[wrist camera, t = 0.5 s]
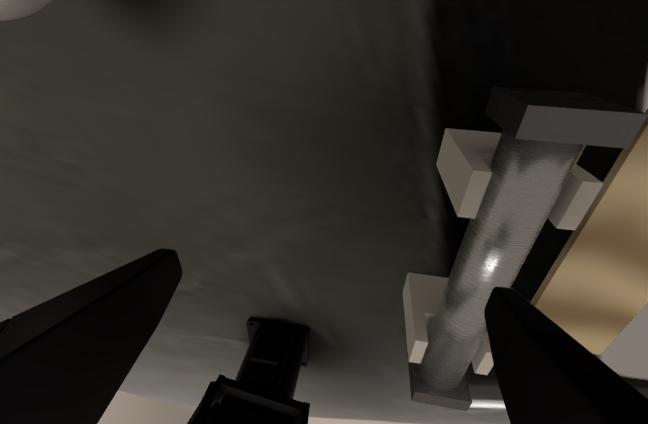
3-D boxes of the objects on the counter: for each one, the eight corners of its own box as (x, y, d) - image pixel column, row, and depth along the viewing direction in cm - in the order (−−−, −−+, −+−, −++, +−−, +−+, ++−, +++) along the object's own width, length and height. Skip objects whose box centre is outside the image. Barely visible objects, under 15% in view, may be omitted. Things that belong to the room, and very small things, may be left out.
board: (595, 348, 26) (599, 354, 25) (510, 335, 27) (513, 341, 26) (822, 92, 15) (837, 94, 14) (663, 81, 15) (673, 83, 15)
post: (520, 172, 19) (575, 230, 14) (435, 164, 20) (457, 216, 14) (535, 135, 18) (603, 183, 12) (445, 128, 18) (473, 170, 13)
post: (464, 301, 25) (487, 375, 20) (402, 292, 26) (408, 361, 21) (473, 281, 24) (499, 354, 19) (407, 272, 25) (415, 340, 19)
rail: (455, 360, 24) (466, 411, 21) (407, 352, 24) (411, 400, 21) (583, 93, 13) (649, 113, 10) (493, 86, 14) (528, 105, 10)
